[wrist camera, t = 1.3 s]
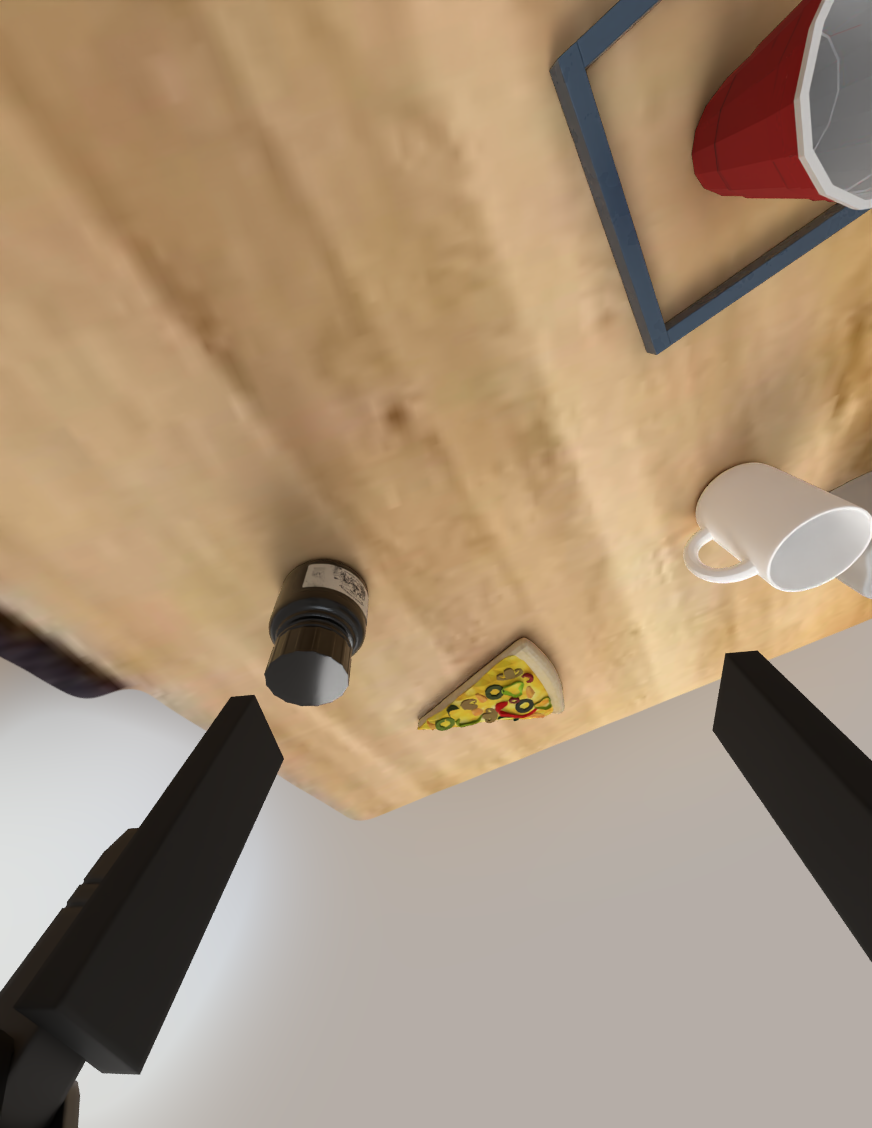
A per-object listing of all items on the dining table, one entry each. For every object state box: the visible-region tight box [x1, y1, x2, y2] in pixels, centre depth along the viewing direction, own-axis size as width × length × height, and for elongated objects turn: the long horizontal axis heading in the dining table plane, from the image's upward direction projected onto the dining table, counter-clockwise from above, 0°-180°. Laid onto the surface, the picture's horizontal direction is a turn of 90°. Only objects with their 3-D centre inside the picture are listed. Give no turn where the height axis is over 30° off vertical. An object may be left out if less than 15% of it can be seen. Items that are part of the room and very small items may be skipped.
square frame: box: [550, 0, 871, 355], centre depth 26 cm, size 18×18×2 cm
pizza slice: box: [418, 638, 565, 731], centre depth 55 cm, size 16×21×3 cm
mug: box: [683, 462, 872, 592], centre depth 38 cm, size 12×8×10 cm
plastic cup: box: [692, 0, 872, 210], centre depth 21 cm, size 11×11×12 cm
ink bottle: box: [264, 560, 368, 706], centre depth 39 cm, size 10×9×12 cm
